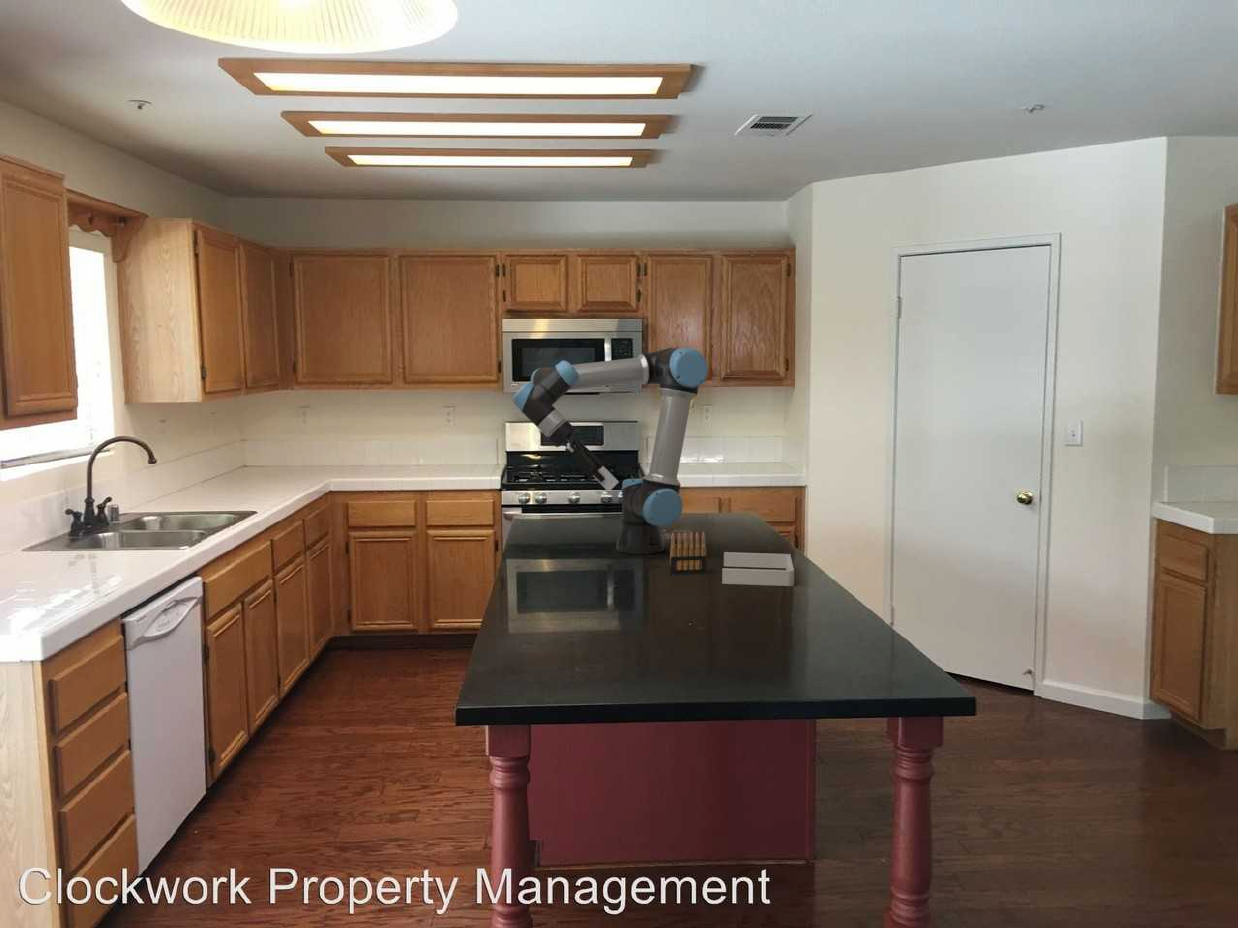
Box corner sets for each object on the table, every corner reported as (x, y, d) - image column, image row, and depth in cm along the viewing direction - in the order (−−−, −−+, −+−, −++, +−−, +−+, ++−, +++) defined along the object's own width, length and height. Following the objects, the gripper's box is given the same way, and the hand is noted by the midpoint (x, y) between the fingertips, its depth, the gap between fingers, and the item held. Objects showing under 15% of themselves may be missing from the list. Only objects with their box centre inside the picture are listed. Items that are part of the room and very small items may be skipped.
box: (723, 565, 273) (724, 552, 273) (789, 567, 271) (790, 554, 270) (722, 583, 251) (722, 569, 251) (793, 586, 249) (794, 571, 248)
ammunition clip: (705, 571, 265) (705, 530, 264) (706, 573, 263) (707, 531, 262) (668, 573, 264) (669, 531, 262) (670, 574, 262) (670, 532, 260)
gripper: (554, 435, 274) (609, 491, 274) (540, 441, 255) (599, 501, 255) (572, 417, 272) (627, 473, 272) (559, 422, 254) (618, 482, 253)
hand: (613, 486), depth 263 cm, fingers open, 6 cm apart
